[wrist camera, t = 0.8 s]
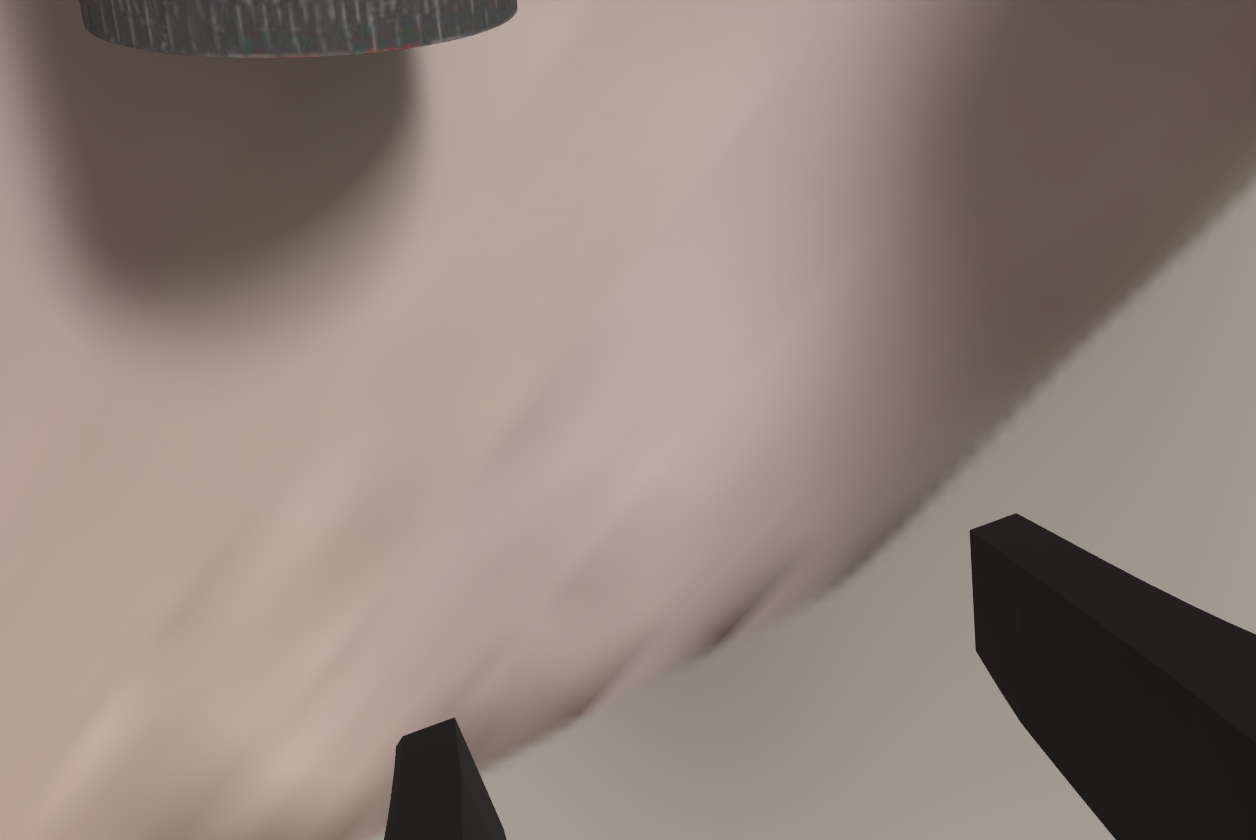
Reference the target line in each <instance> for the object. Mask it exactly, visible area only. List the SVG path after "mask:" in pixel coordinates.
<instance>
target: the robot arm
mask: <svg viewBox="0 0 1256 840" xmlns="http://www.w3.org/2000/svg"><path fill="white" fill-rule="evenodd" d="M970 542H971V543H970V544H971V564H972V584H973V604H974V624H975V643H976V652H977V653H978V655H979V657H980V658H981V660H982V662H983V663H984V665H985V666H986V668H987V670H988V671H989V673H990V675H991V676H992V678H993V679H994V681H995V683H996V684H997V686H998V688H999V689H1000V691H1001V692H1002V694H1003V695H1004V697H1005V699H1006V700H1007V702H1008V703H1009V705H1010V706H1011V708H1012V710H1013V711H1014V713H1015V714H1016V716H1017V717H1018V719H1019V720H1020V722H1021V723H1022V724H1023V726H1024V727H1025V728H1026V730H1027V731H1028V732H1029V733H1030V735H1031V736H1032V737H1033V738H1034V740H1035V741H1036V742H1037V743H1038V745H1039V746H1040V747H1041V748H1042V749H1043V751H1044V752H1045V753H1046V755H1047V756H1048V757H1049V758H1050V760H1051V761H1052V762H1053V763H1054V764H1055V766H1056V767H1057V768H1058V769H1059V771H1060V772H1061V773H1062V774H1063V776H1064V777H1065V778H1066V779H1067V780H1068V782H1069V783H1070V784H1071V785H1072V787H1073V788H1074V789H1075V790H1076V791H1077V793H1078V794H1079V795H1080V796H1081V798H1082V799H1083V800H1084V801H1085V802H1086V804H1087V805H1088V806H1089V807H1090V809H1091V810H1092V811H1093V812H1094V813H1095V815H1096V816H1097V817H1098V818H1099V820H1100V821H1101V822H1102V823H1103V824H1104V826H1105V827H1106V828H1107V829H1108V831H1109V832H1110V833H1111V834H1112V835H1113V837H1114V838H1115V839H1116V840H1256V634H1253V633H1251V632H1249V631H1247V630H1244V629H1242V628H1240V627H1237V626H1235V625H1233V624H1230V623H1228V622H1226V621H1224V620H1222V619H1220V618H1218V617H1215V616H1213V615H1211V614H1209V613H1207V612H1205V611H1203V610H1201V609H1198V608H1196V607H1194V606H1192V605H1190V604H1188V603H1186V602H1184V601H1182V600H1180V599H1178V598H1176V597H1174V596H1172V595H1170V594H1168V593H1166V592H1164V591H1162V590H1160V589H1158V588H1156V587H1154V586H1152V585H1150V584H1148V583H1146V582H1144V581H1142V580H1140V579H1138V578H1136V577H1134V576H1132V575H1131V574H1129V573H1127V572H1125V571H1123V570H1121V569H1119V568H1117V567H1115V566H1114V565H1112V564H1110V563H1108V562H1106V561H1104V560H1102V559H1100V558H1098V557H1097V556H1095V555H1093V554H1091V553H1089V552H1087V551H1085V550H1084V549H1082V548H1080V547H1078V546H1076V545H1074V544H1072V543H1071V542H1069V541H1067V540H1065V539H1063V538H1061V537H1059V536H1057V535H1056V534H1054V533H1052V532H1050V531H1048V530H1047V529H1045V528H1043V527H1041V526H1039V525H1037V524H1035V523H1033V522H1032V521H1030V520H1028V519H1026V518H1024V517H1022V516H1020V515H1018V514H1013V515H1010V516H1007V517H1005V518H1002V519H999V520H997V521H994V522H991V523H988V524H985V525H983V526H980V527H977V528H974V529H972V530H970ZM384 840H506V837H505V833H504V829H503V827H502V824H501V822H500V820H499V817H498V815H497V813H496V811H495V808H494V806H493V804H492V802H491V799H490V797H489V795H488V792H487V790H486V788H485V785H484V783H483V781H482V779H481V776H480V774H479V772H478V769H477V767H476V765H475V763H474V760H473V758H472V756H471V754H470V751H469V749H468V747H467V744H466V742H465V740H464V738H463V735H462V733H461V731H460V728H459V726H458V724H457V722H456V719H455V718H452V719H449V720H446V721H444V722H441V723H438V724H435V725H433V726H430V727H427V728H424V729H422V730H419V731H416V732H413V733H411V734H408V735H405V736H403V737H402V738H401V740H400V741H399V743H398V745H397V746H396V756H395V768H394V777H393V786H392V794H391V801H390V808H389V814H388V820H387V826H386V832H385V837H384Z"/></svg>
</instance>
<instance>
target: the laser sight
mask: <svg viewBox="0 0 1256 840" xmlns="http://www.w3.org/2000/svg"><path fill="white" fill-rule="evenodd" d="M79 1H80V6H81V12H82V17H83V22H84V26H85V28H86V29H87V30H88V31H89V32H90V33H91V34H93V35H95V36H96V37H98V38H101V39H103V40H106V41H108V42H112V43H115V44H119V45H123V46H127V47H132V48H137V49H143V50H149V51H155V52H163V53H171V54H181V55H193V56H209V57H232V58H298V57H321V56H337V55H352V54H362V53H373V52H382V51H391V50H399V49H406V48H413V47H420V46H426V45H431V44H437V43H442V42H447V41H451V40H456V39H460V38H464V37H468V36H472V35H475V34H478V33H481V32H484V31H487V30H490V29H492V28H495V27H497V26H500V25H501V24H503V23H505V22H507V21H508V20H510V19H511V18H512V17H513V16H514V15H515V14H516V12H517V0H79Z"/></svg>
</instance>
